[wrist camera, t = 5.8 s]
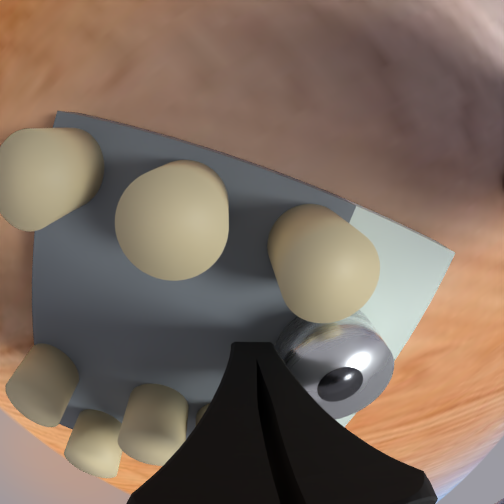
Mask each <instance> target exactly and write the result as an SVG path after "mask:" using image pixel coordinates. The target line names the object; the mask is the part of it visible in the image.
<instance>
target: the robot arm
mask: <svg viewBox="0 0 504 504" xmlns="http://www.w3.org/2000/svg"><path fill="white" fill-rule="evenodd" d="M437 499H438V498H437V496H436V494H435V492H434V490H433V487H432V485H431V483H430V481H429V479H428V478H427V476H426V475H425V473H424V471H421V470H419V469H417V468H414V467H412V466H409V465H407V464H405V463H403V462H400V461H398V460H396V459H394V458H392V457H390V456H388V455H386V454H384V453H382V452H381V451H379V450H377V449H375V448H374V447H372V446H370V445H369V444H367V443H366V442H364V441H363V440H361V439H360V438H358V437H357V436H356V435H354V434H353V433H351V432H350V431H348V430H347V429H346V428H345V427H343V426H342V425H341V424H340V423H338V422H337V421H336V420H335V419H334V418H333V417H332V416H331V415H329V414H328V413H327V412H326V411H325V410H324V409H323V408H322V407H321V406H320V405H319V404H318V403H317V402H316V401H315V400H314V399H313V398H312V396H311V395H310V394H309V393H308V392H307V391H306V390H305V388H304V387H303V386H302V385H301V384H300V382H299V381H298V380H297V379H296V377H295V376H294V375H293V374H292V372H291V371H290V369H289V368H288V367H287V365H286V364H285V362H284V361H283V359H282V358H281V356H280V355H279V353H278V352H277V350H276V349H275V347H274V345H273V344H272V343H271V342H233V343H232V344H231V351H230V357H229V360H228V364H227V367H226V370H225V372H224V375H223V377H222V380H221V382H220V385H219V387H218V389H217V391H216V393H215V395H214V397H213V399H212V401H211V403H210V404H209V406H208V408H207V410H206V411H205V413H204V415H203V416H202V418H201V419H200V421H199V422H198V424H197V425H196V427H195V428H194V430H193V431H192V432H191V434H190V435H189V436H188V438H187V439H186V440H185V442H184V443H183V444H182V445H181V447H180V448H179V449H178V450H177V451H176V452H175V453H174V455H173V456H172V457H171V458H170V459H169V460H168V461H167V462H166V463H165V464H164V465H163V466H162V467H161V469H159V470H158V471H157V472H156V473H155V474H154V475H153V476H152V477H151V478H150V479H149V480H147V481H146V482H145V483H144V484H143V485H142V486H140V487H139V488H138V489H137V490H136V491H135V492H133V493H132V494H131V496H130V498H129V500H128V502H127V504H435V503H436V501H437ZM495 504H504V498H503V499H501V500H500V501H498V502H497V503H495Z"/></svg>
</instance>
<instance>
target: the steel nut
mask: <svg viewBox="0 0 504 504" xmlns="http://www.w3.org/2000/svg"><path fill="white" fill-rule="evenodd" d="M274 347H275V349H276V350H277V352H278V353H279V355H280V356H281V358H282V359H283V361H284V362H285V364H286V365H287V367H288V368H289V369H290V371H291V372H292V374H293V375H294V376H295V377H296V379H297V380H298V381H299V382H300V384H301V385H302V386H303V387H304V388H305V390H306V391H307V392H308V393H309V394H310V395H311V396H312V398H313V399H314V400H315V401H316V402H317V403H318V404H319V405H320V406H321V407H322V408H323V409H324V410H325V411H326V412H327V413H328V414H329V415H331V416H332V417H333V418H334V419H335V420H336V419H340V418H343V417H346V416H349V415H351V414H354V413H356V412H358V411H360V410H361V409H363V408H365V407H366V406H368V405H369V404H370V403H372V402H373V401H374V400H375V399H376V398H377V397H378V396H379V395H380V394H381V393H382V392H383V391H384V389H385V388H386V386H387V385H388V383H389V381H390V379H391V377H392V374H393V370H394V358H393V355H392V353H391V351H390V349H389V348H388V346H387V345H386V343H385V342H384V340H383V339H382V337H381V336H380V335H379V333H378V332H377V330H376V329H375V327H374V326H373V324H372V323H371V322H370V320H369V319H368V317H367V316H366V315H365V314H364V313H363V312H361V311H360V310H358V311H357V312H355V313H354V314H352V315H351V316H349V317H347V318H345V319H342V320H340V321H336V322H331V323H314V322H309V321H306V320H304V319H302V318H300V317H298V316H297V317H296V318H295V319H293V320H292V321H291V322H290V323H289V324H288V325H287V326H286V327H285V328H284V329H283V330H282V332H281V333H280V335H279V336H278V338H277V341H276V343H275V346H274Z"/></svg>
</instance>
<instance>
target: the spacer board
mask: <svg viewBox="0 0 504 504" xmlns="http://www.w3.org/2000/svg"><path fill="white" fill-rule="evenodd" d="M0 213H1V214H2V216H3V217H4V218H5V219H6V220H7V221H8V222H9V223H10V224H11V225H12V226H14V227H15V228H17V229H20V230H23V231H35V235H34V248H33V267H32V317H33V336H34V346H33V347H32V348H31V350H30V351H29V352H28V354H27V355H26V357H25V358H24V359H23V361H22V362H21V364H20V365H19V366H18V368H17V369H16V371H15V372H14V374H13V375H12V376H11V378H10V379H9V381H8V382H7V384H6V393H7V396H8V398H9V400H10V401H11V403H12V404H13V405H14V407H15V408H16V409H17V410H18V411H19V412H20V413H22V414H23V415H24V416H25V417H27V418H28V419H30V420H31V421H33V422H35V423H37V424H39V425H42V426H46V427H55V426H57V425H58V424H61V425H63V426H66V427H68V428H71V429H73V431H72V433H71V436H70V438H69V441H68V443H67V446H66V449H65V451H64V455H65V457H66V459H67V460H68V461H69V462H70V463H71V464H72V465H74V466H75V467H76V468H78V469H80V470H81V471H83V472H85V473H88V474H90V475H93V476H97V477H101V478H113V477H115V476H116V475H117V472H118V468H119V463H120V459H121V455H122V451H123V452H125V453H126V454H127V455H128V456H130V457H132V458H133V459H135V460H138V461H140V462H143V463H146V464H151V465H158V466H163V465H164V464H165V463H166V462H167V461H168V460H169V459H170V458H171V457H172V456H173V455H174V453H175V452H176V451H177V450H178V449H179V448H180V447H181V445H182V444H183V443H184V442H185V440H186V439H187V438H188V436H189V435H190V434H191V432H192V431H193V430H194V428H195V427H196V425H197V424H198V422H199V421H200V419H201V418H202V416H203V415H204V413H205V411H206V410H207V408H208V406H209V404H210V403H211V401H212V399H213V397H214V395H215V393H216V391H217V389H218V387H219V385H220V382H221V380H222V377H223V375H224V372H225V370H226V367H227V364H228V360H229V357H230V351H231V344H232V343H233V342H271V343H272V344H273V345H274V346H275V343H276V341H277V338H278V336H279V335H280V333H281V332H282V330H283V329H284V328H285V327H286V326H287V325H288V324H289V323H290V322H291V321H292V320H293V319H295V318H296V317H297V316H298V317H300V318H302V319H304V320H306V321H309V322H314V323H331V322H336V321H340V320H342V319H345V318H347V317H349V316H351V315H352V314H354V313H355V312H357V311H358V310H360V311H361V312H363V313H364V314H365V315H366V316H367V317H368V319H369V320H370V322H371V323H372V324H373V326H374V327H375V329H376V330H377V332H378V333H379V335H380V336H381V337H382V339H383V340H384V342H385V343H386V345H387V346H388V348H389V349H390V351H391V353H392V355H393V358H394V361H395V359H396V358H397V356H398V355H399V353H400V352H401V350H402V349H403V347H404V345H405V344H406V342H407V341H408V339H409V338H410V336H411V334H412V333H413V331H414V329H415V328H416V326H417V324H418V323H419V321H420V319H421V318H422V316H423V314H424V312H425V311H426V309H427V307H428V305H429V304H430V302H431V300H432V298H433V296H434V294H435V293H436V291H437V289H438V287H439V285H440V283H441V281H442V279H443V277H444V275H445V273H446V271H447V269H448V267H449V265H450V263H451V261H452V259H453V257H454V255H455V252H453V251H452V250H450V249H448V248H447V247H445V246H443V245H442V244H440V243H439V242H437V241H435V240H433V239H431V238H429V237H427V236H425V235H423V234H421V233H419V232H417V231H415V230H413V229H411V228H409V227H407V226H405V225H402V224H400V223H398V222H396V221H394V220H392V219H390V218H388V217H385V216H383V215H381V214H379V213H377V212H374V211H372V210H370V209H368V208H365V207H363V206H361V205H358V204H356V203H354V202H352V201H349V200H347V199H345V198H342V197H340V196H337V195H335V194H333V193H330V192H328V191H325V190H323V189H320V188H318V187H315V186H313V185H310V184H308V183H305V182H303V181H300V180H298V179H295V178H292V177H290V176H287V175H284V174H282V173H279V172H276V171H274V170H271V169H268V168H266V167H263V166H260V165H257V164H254V163H252V162H249V161H246V160H243V159H240V158H237V157H234V156H231V155H228V154H225V153H222V152H219V151H216V150H213V149H210V148H207V147H204V146H200V145H197V144H194V143H191V142H187V141H184V140H181V139H177V138H174V137H171V136H167V135H164V134H160V133H157V132H153V131H149V130H146V129H142V128H138V127H135V126H131V125H127V124H123V123H119V122H115V121H111V120H107V119H103V118H98V117H94V116H90V115H85V114H81V113H75V112H65V111H57V114H56V118H55V121H54V125H53V128H28V129H22V130H19V131H16V132H15V133H13V134H11V135H10V136H9V137H8V138H7V139H6V140H5V141H4V142H3V144H2V145H1V147H0ZM355 414H356V413H354V414H351V415H349V416H346V417H343V418H340V419H336V421H337V422H338V423H340V424H341V425H342V426H343V427H345V426H346V425H347V423H348V422H349V421H350V420H351V419H352V417H353V416H354V415H355Z"/></svg>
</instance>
